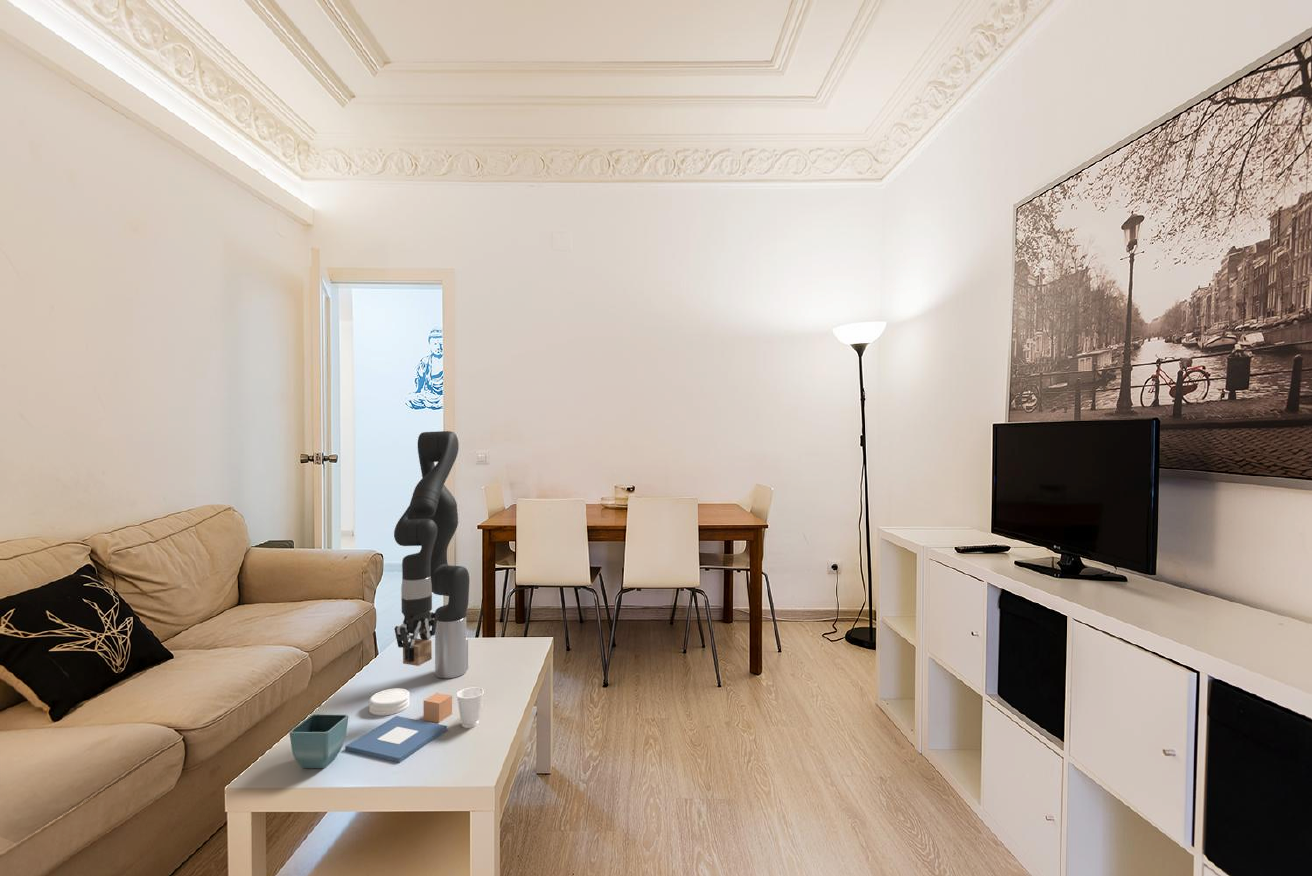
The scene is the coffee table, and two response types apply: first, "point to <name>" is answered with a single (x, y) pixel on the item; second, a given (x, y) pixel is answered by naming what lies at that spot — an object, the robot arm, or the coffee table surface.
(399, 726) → the board
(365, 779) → the coffee table surface
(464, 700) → the cup
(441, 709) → the terracotta block
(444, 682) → the coffee table surface
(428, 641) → the walnut block
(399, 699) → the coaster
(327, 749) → the flower pot
